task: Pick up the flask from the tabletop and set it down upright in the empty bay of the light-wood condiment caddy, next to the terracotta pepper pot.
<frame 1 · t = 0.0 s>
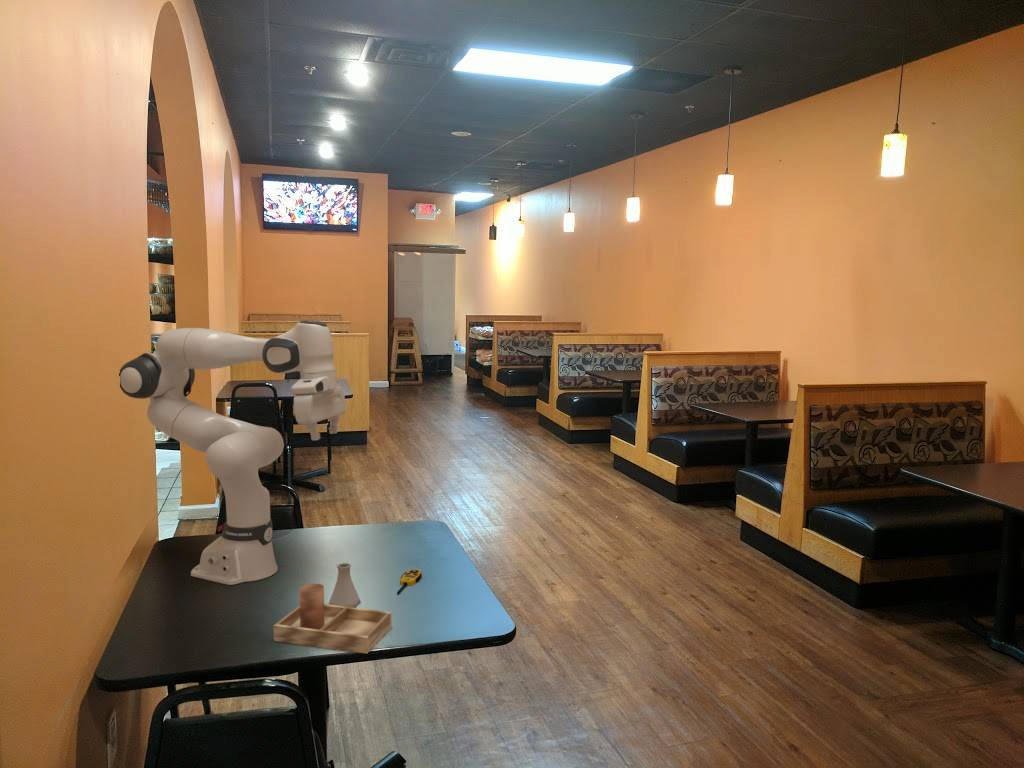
hand: (325, 436, 186), 39 cm above the table, tool pointing down, fingers open, 8 cm apart
condiment caddy: (334, 633, 161), on the table
yellow walkie talkie: (407, 585, 189), on the table
flask: (344, 605, 176), on the table
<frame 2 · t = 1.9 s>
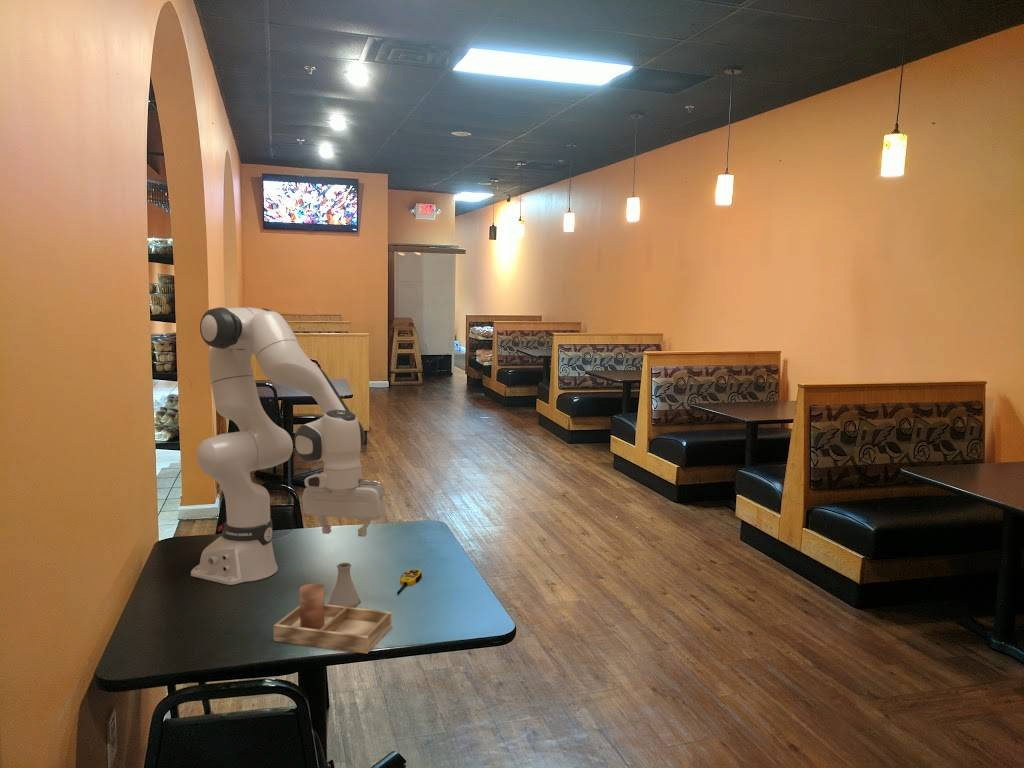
hand: (344, 534, 174), 18 cm above the table, tool pointing down, fingers open, 8 cm apart
nothing on the table moved.
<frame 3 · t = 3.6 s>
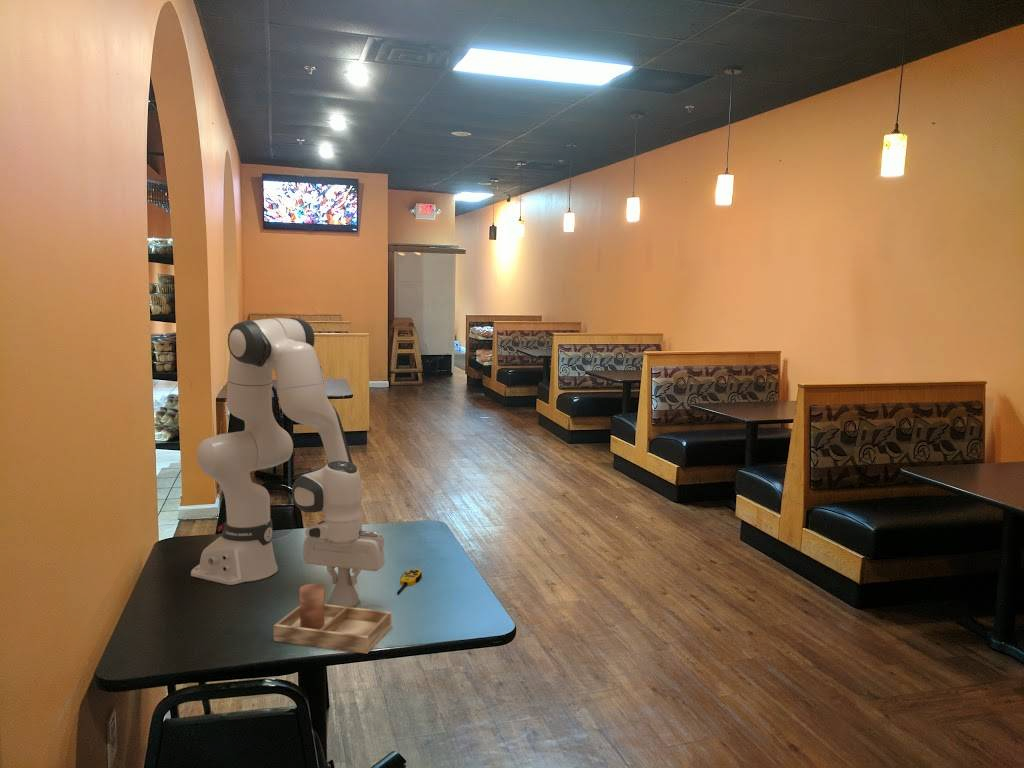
hand: (344, 583, 176), 5 cm above the table, tool pointing down, fingers closed on flask, 3 cm apart
flask: (344, 604, 176), on the table, touching gripper
everything else where it was.
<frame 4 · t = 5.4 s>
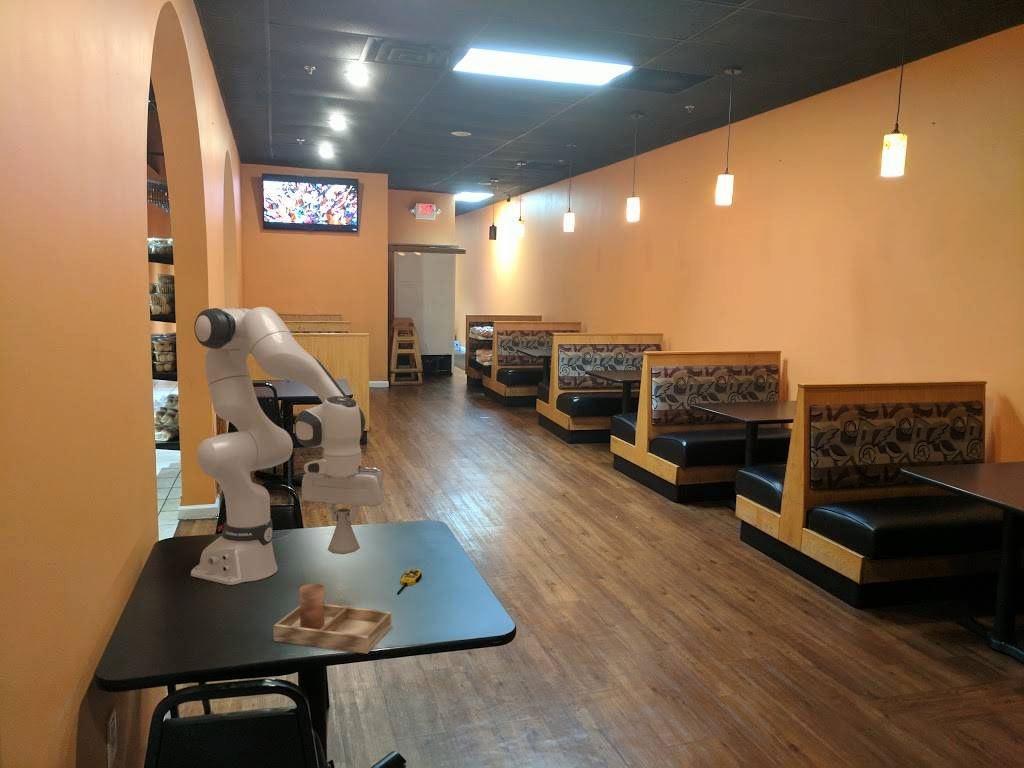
hand: (343, 521, 174), 21 cm above the table, tool pointing down, fingers closed on flask, 3 cm apart
flask: (343, 550, 175), point 13 cm above the table, touching gripper
everything else where it was.
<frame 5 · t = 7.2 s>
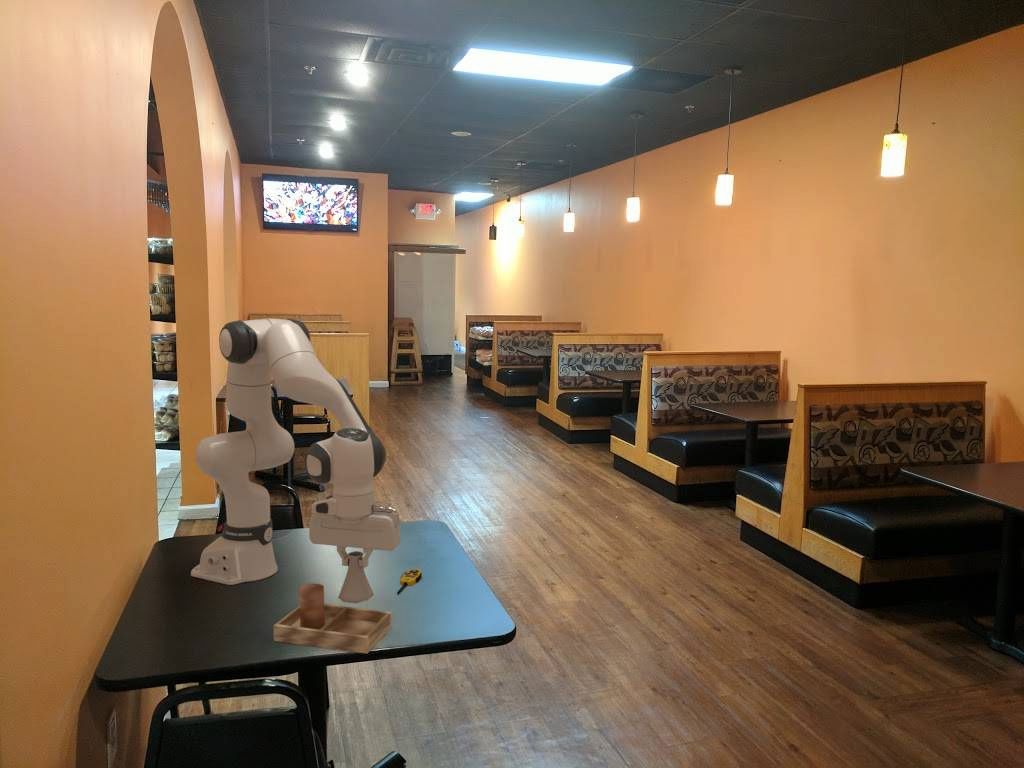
hand: (355, 565, 157), 16 cm above the table, tool pointing down, fingers closed on flask, 3 cm apart
flask: (356, 598, 158), point 9 cm above the table, touching gripper
everything else where it was.
when the fingers open (8 cm above the table, at t = 8.9 s): flask stays where it is, resting on condiment caddy.
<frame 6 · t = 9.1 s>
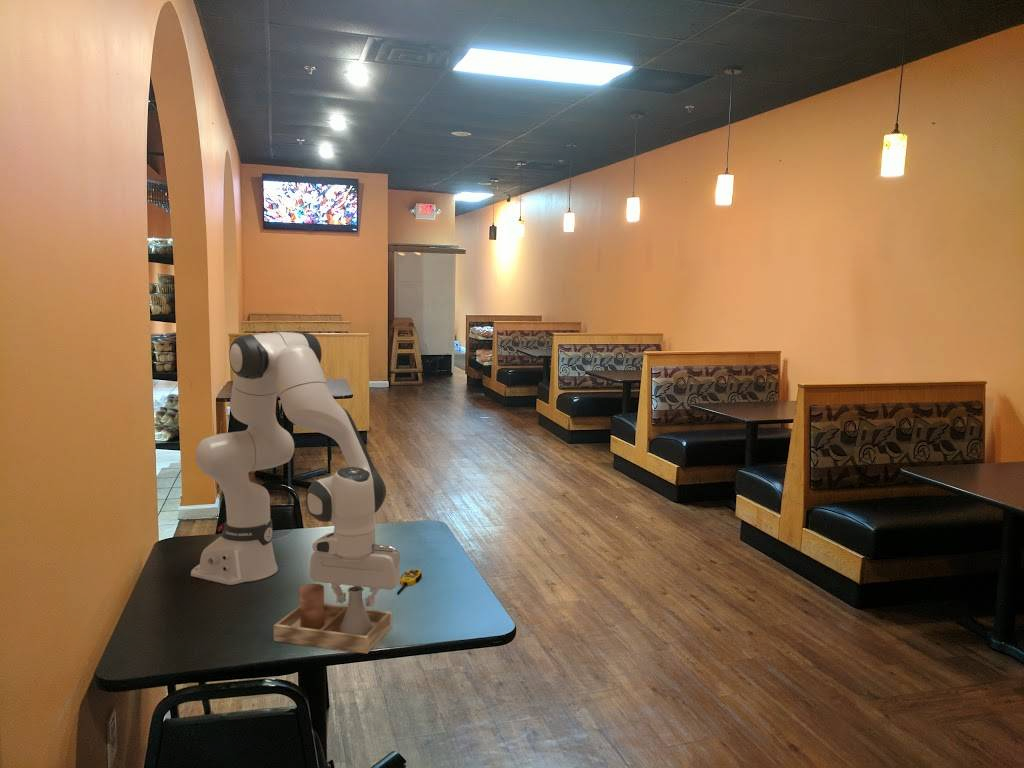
hand: (355, 603, 158), 8 cm above the table, tool pointing down, fingers open, 5 cm apart
flask: (356, 633, 159), point 1 cm above the table, touching condiment caddy
everything else where it was.
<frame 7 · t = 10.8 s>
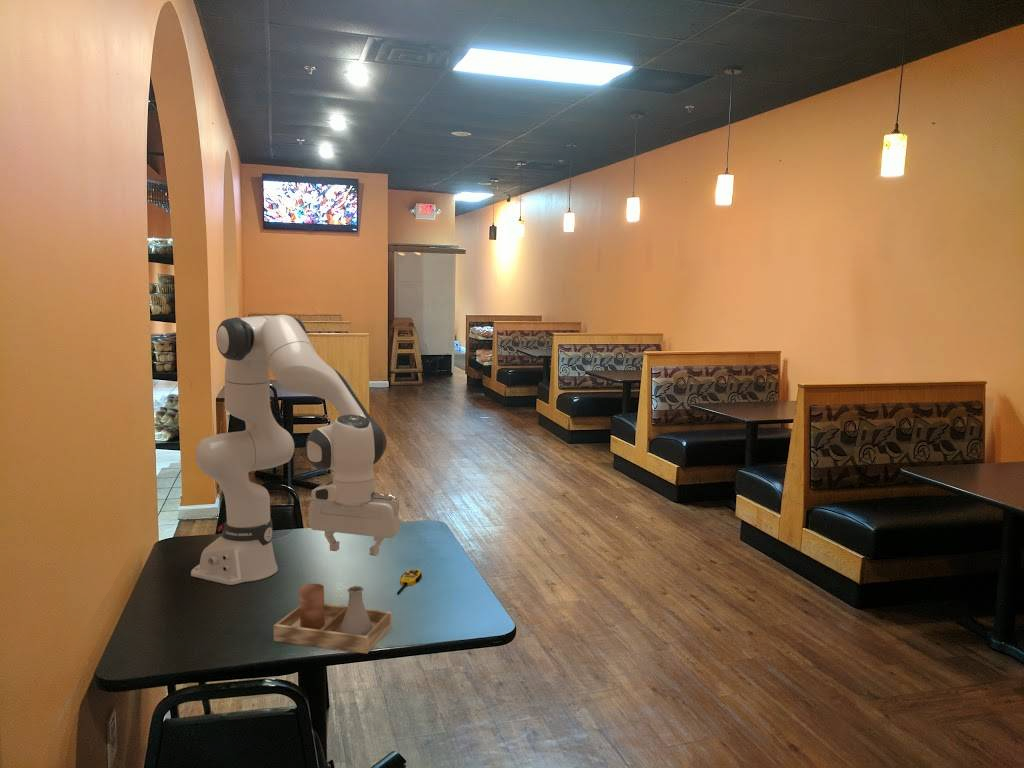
hand: (354, 552, 157), 19 cm above the table, tool pointing down, fingers open, 8 cm apart
nothing on the table moved.
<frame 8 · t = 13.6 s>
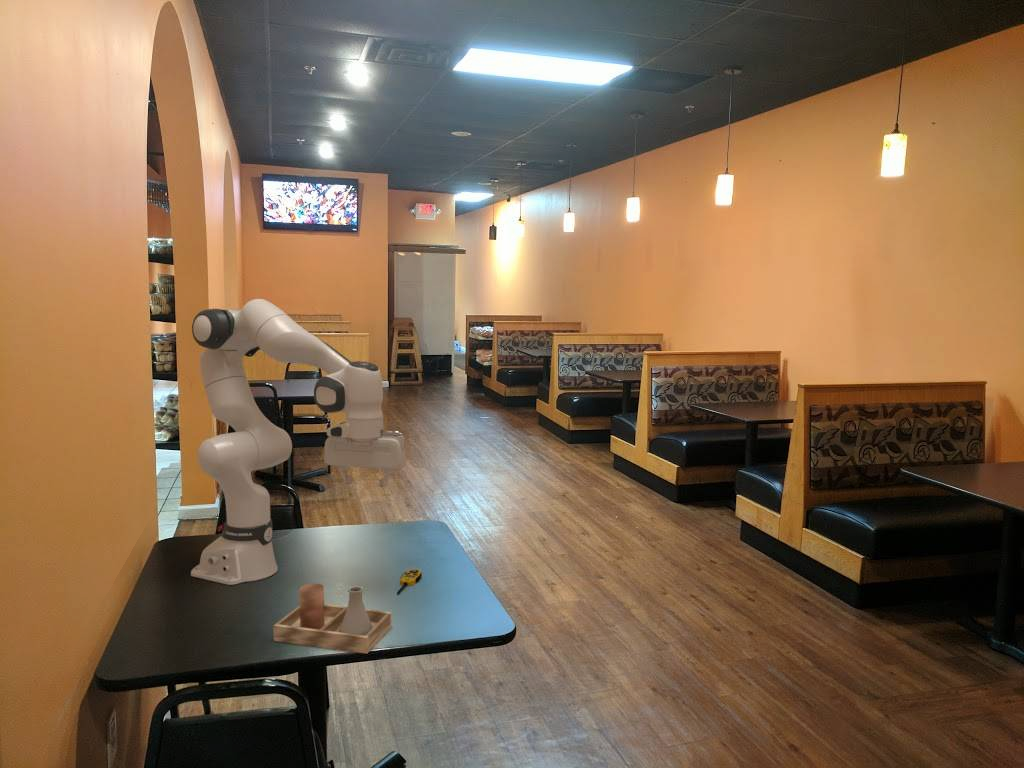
hand: (365, 485, 176), 29 cm above the table, tool pointing down, fingers open, 8 cm apart
nothing on the table moved.
at the end: flask 0.1 cm from the target spot on the condiment caddy, point 0.8 cm above the condiment caddy's base; flask tilted 0°; the gripper is holding nothing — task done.
